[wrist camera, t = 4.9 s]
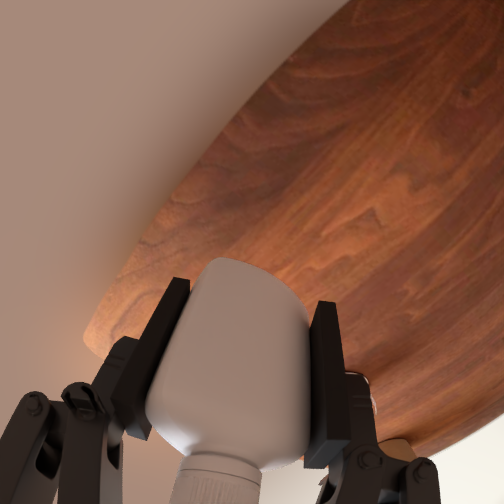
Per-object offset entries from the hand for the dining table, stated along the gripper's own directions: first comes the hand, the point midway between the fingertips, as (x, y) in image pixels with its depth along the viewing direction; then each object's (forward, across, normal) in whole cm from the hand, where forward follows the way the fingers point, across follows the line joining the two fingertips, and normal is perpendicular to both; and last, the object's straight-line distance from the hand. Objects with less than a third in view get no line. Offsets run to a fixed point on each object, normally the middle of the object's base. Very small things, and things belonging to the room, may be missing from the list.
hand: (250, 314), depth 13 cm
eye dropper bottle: (+2, 0, 0) cm, 2 cm away
